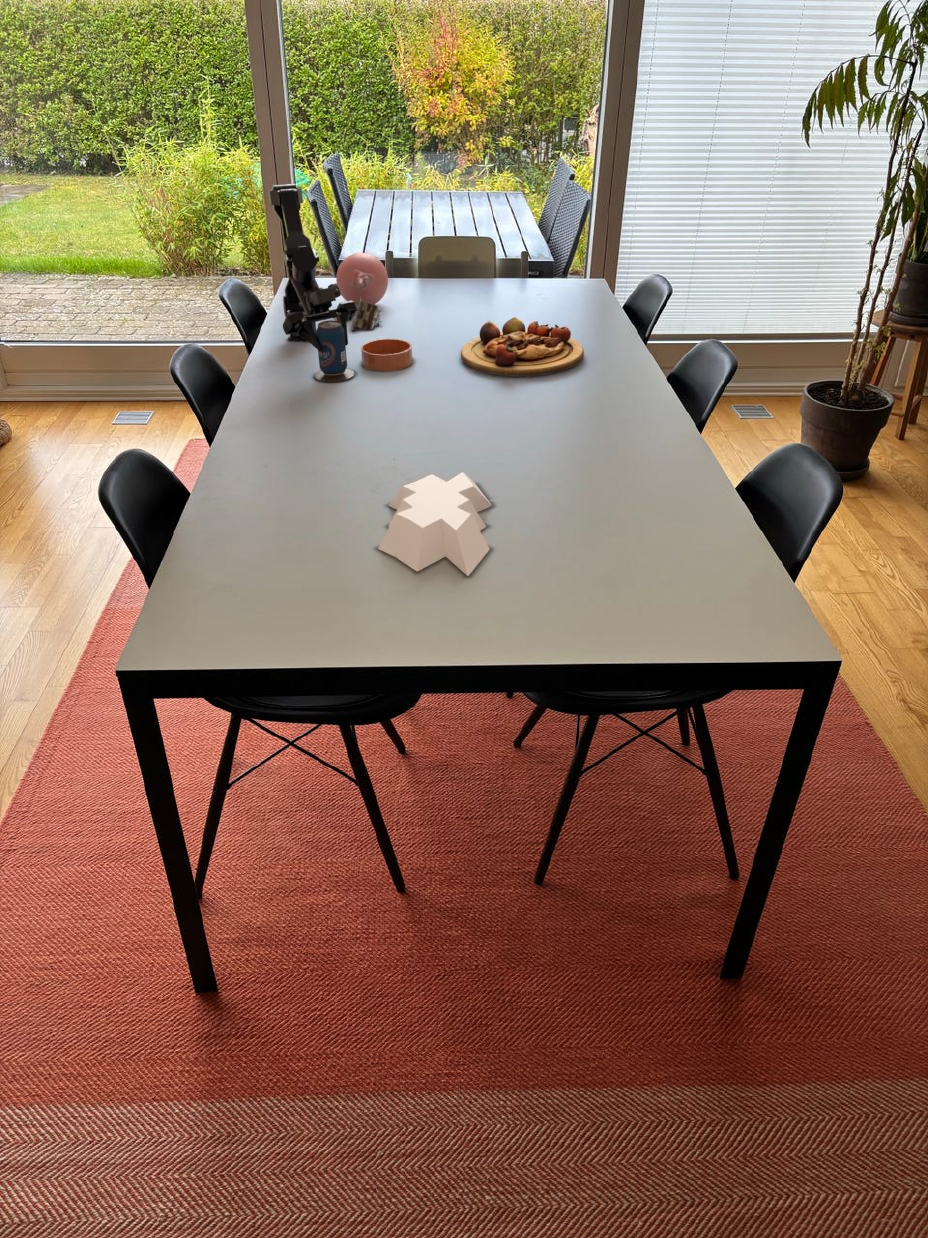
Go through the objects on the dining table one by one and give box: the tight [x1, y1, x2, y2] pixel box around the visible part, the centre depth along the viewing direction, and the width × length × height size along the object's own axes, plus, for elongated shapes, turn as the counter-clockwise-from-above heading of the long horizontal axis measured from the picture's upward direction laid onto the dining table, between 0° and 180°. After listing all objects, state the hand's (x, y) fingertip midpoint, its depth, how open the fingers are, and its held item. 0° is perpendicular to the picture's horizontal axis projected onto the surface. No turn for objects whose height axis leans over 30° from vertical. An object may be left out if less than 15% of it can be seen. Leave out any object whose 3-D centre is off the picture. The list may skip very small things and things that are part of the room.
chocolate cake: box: [351, 297, 382, 331], centre depth 282 cm, size 10×7×12 cm
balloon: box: [335, 252, 389, 307], centre depth 292 cm, size 15×20×15 cm
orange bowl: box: [360, 338, 413, 372], centre depth 254 cm, size 13×13×4 cm
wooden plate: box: [460, 316, 585, 377], centre depth 254 cm, size 32×32×8 cm
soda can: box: [316, 319, 348, 375], centre depth 244 cm, size 7×7×12 cm
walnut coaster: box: [314, 367, 355, 384], centre depth 247 cm, size 10×10×1 cm
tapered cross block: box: [377, 471, 493, 577], centre depth 178 cm, size 35×20×6 cm, turn 177°
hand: (334, 347), depth 243 cm, fingers closed on soda can, 7 cm apart
